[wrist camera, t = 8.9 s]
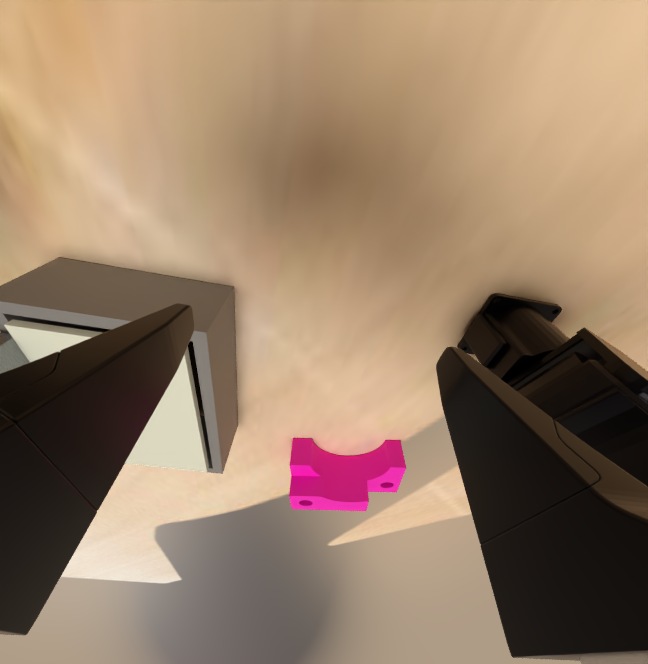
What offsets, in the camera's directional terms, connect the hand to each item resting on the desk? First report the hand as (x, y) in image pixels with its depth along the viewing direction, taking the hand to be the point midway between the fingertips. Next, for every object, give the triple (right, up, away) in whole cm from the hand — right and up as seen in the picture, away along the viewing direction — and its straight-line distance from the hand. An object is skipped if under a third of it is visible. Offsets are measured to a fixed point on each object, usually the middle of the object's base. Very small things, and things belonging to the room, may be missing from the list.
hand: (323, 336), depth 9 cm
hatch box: (-16, -3, +19) cm, 26 cm away
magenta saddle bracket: (+3, -23, +30) cm, 38 cm away
